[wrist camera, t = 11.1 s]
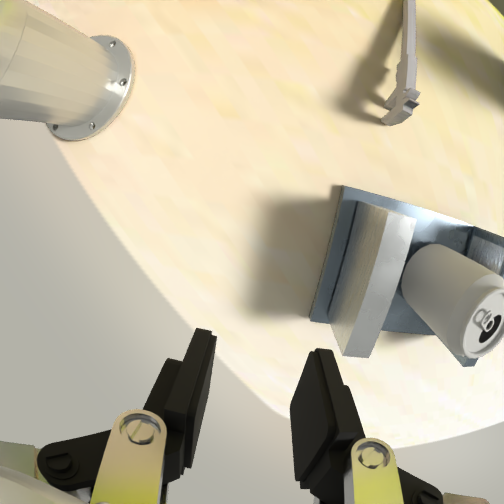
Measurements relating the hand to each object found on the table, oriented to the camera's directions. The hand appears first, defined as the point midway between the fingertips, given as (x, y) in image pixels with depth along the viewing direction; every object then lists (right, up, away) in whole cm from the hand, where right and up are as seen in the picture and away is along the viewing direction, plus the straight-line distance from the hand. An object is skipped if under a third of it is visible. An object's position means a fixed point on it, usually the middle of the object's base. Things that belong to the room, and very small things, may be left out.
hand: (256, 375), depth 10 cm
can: (+19, +2, +18) cm, 26 cm away
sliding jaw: (+10, +3, +17) cm, 20 cm away
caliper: (+16, +26, +12) cm, 33 cm away
